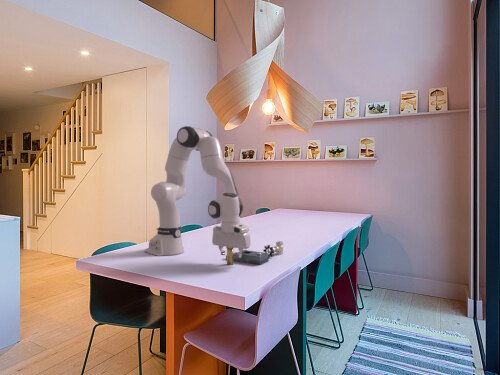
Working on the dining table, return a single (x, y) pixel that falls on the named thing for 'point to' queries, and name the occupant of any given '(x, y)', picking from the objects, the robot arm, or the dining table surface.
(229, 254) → the brass pin
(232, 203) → the robot arm
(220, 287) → the dining table surface
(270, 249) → the valve
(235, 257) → the gray block with recess
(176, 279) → the dining table surface
